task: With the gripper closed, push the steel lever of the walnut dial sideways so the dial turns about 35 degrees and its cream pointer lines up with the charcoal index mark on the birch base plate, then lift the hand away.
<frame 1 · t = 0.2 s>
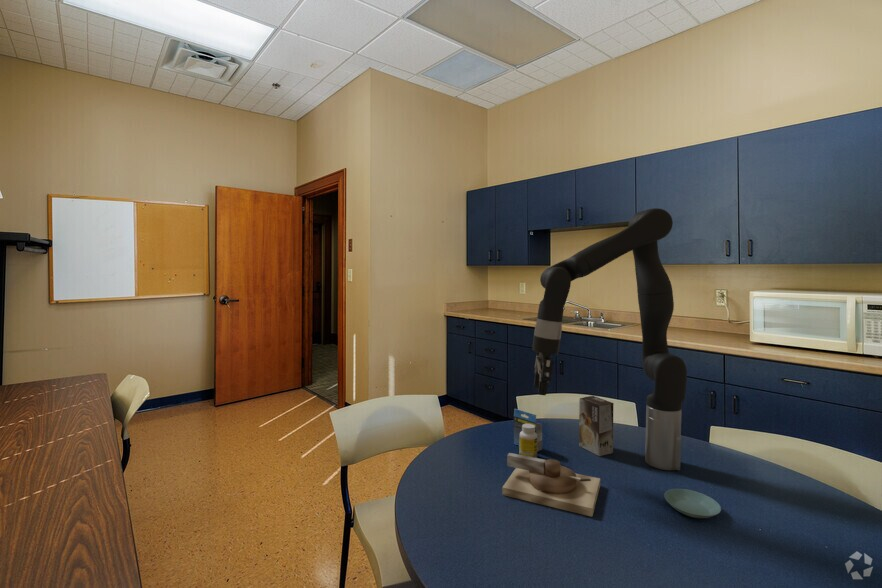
hand: (539, 390, 124), 23 cm above the table, tool pointing down, fingers open, 8 cm apart
saucer: (691, 511, 103), on the table
base plate: (552, 490, 112), on the table
label tape box: (527, 447, 139), on the table
coffee box: (595, 450, 137), on the table
supplement bottle: (528, 457, 132), on the table
dial: (542, 470, 113), point 5 cm above the table, hinge at 0.0°
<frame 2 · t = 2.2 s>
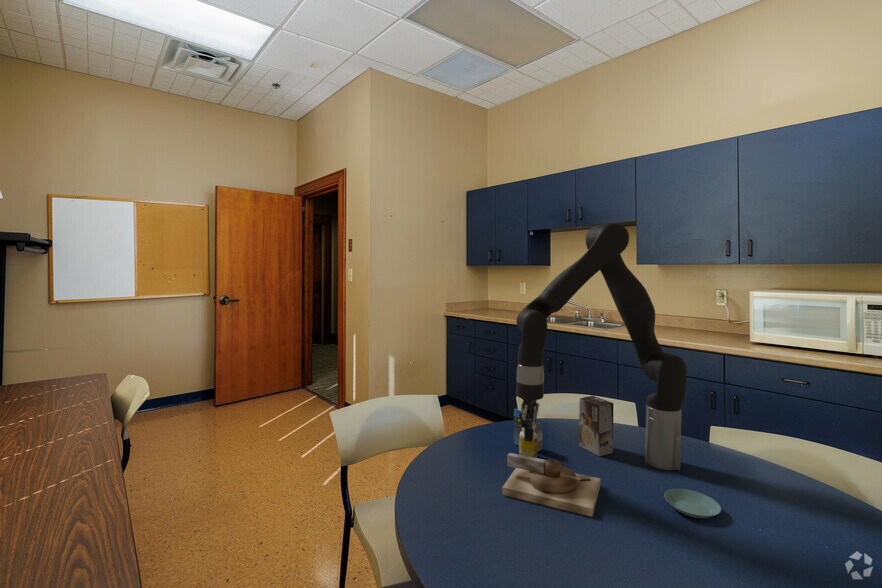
hand: (528, 440, 121), 9 cm above the table, tool pointing down, fingers closed
nothing on the table moved.
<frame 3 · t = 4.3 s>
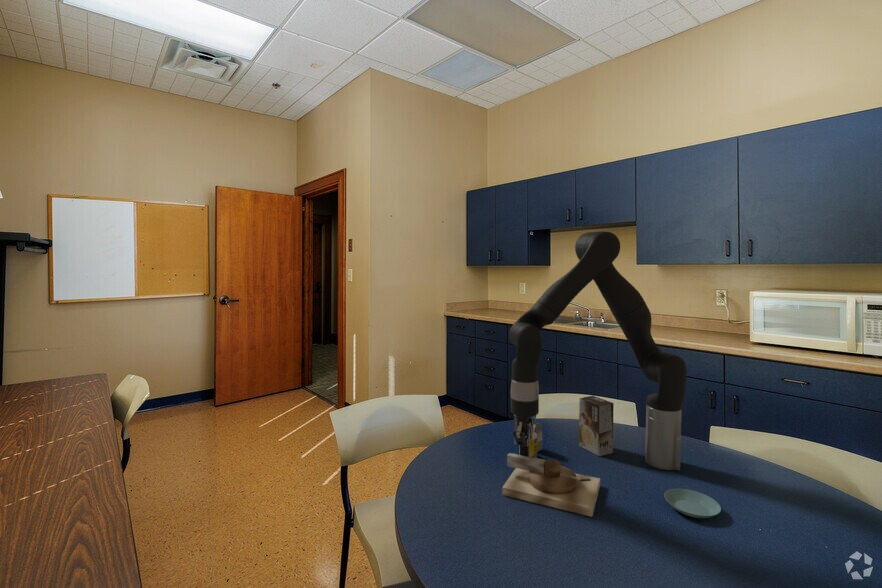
hand: (524, 457, 117), 6 cm above the table, tool pointing down, fingers closed
dial: (542, 470, 113), point 5 cm above the table, hinge at 0.6°, touching gripper
everything else where it was.
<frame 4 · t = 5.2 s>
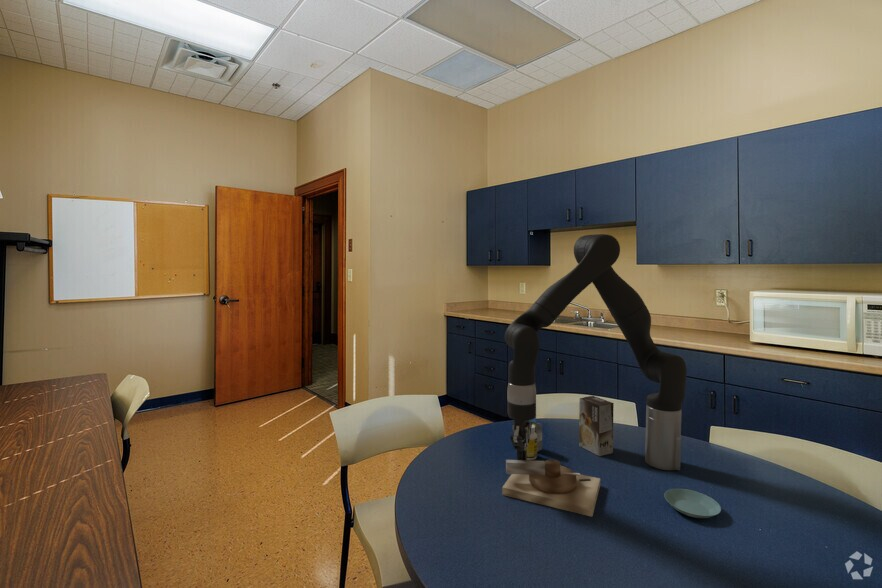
hand: (521, 461, 115), 6 cm above the table, tool pointing down, fingers closed
dial: (542, 471, 112), point 5 cm above the table, hinge at 22.0°, touching gripper
everything else where it was.
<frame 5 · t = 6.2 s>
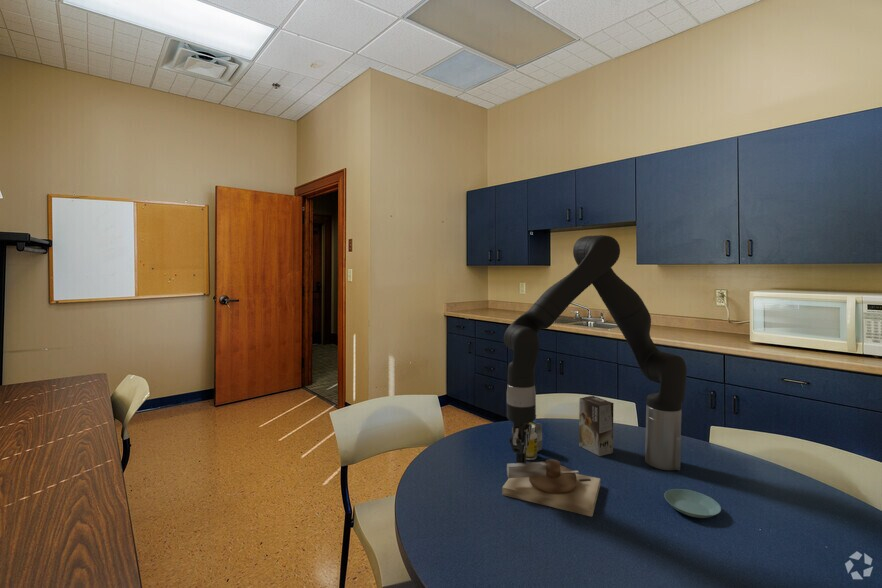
hand: (521, 465, 113), 6 cm above the table, tool pointing down, fingers closed
dial: (543, 472, 111), point 5 cm above the table, hinge at 33.2°, touching gripper
everything else where it was.
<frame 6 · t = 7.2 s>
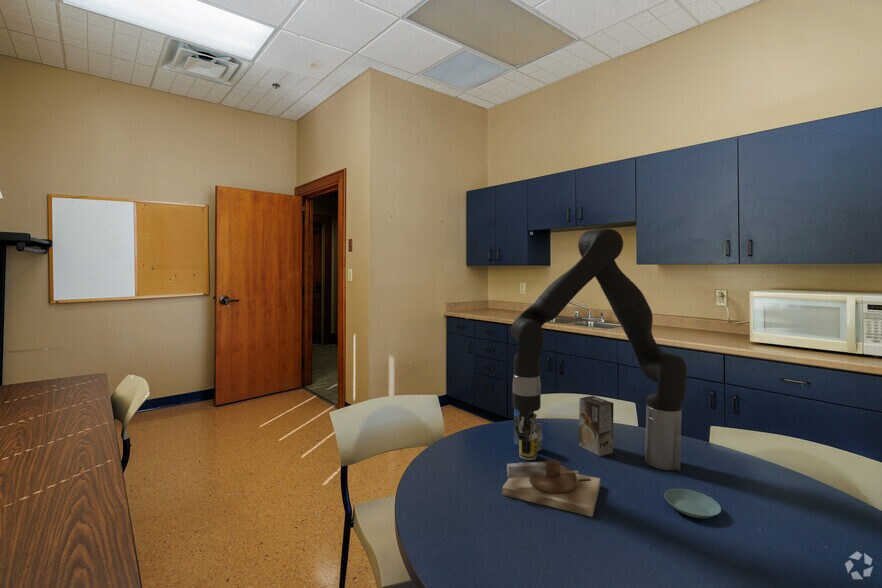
hand: (526, 452, 118), 7 cm above the table, tool pointing down, fingers closed
dial: (543, 472, 111), point 5 cm above the table, hinge at 33.4°
everything else where it was.
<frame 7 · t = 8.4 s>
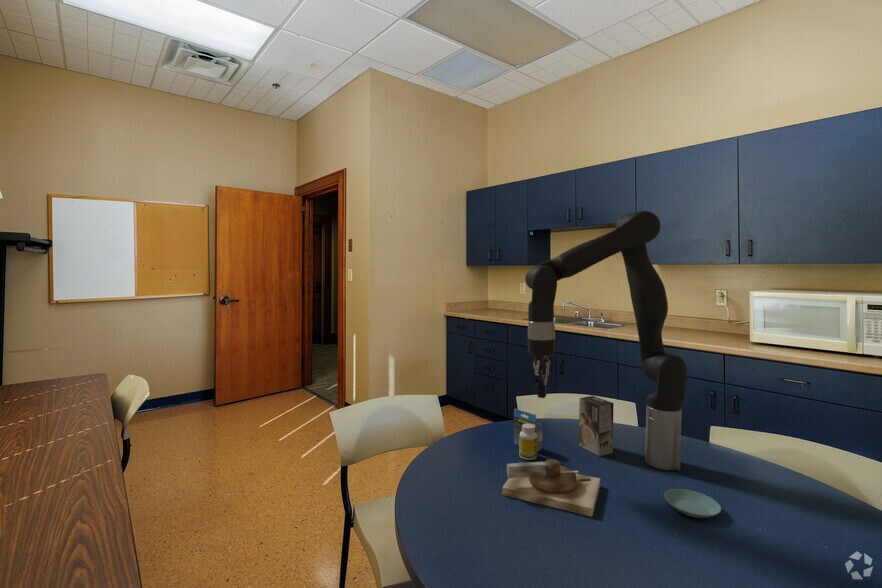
hand: (541, 397, 121), 22 cm above the table, tool pointing down, fingers closed
nothing on the table moved.
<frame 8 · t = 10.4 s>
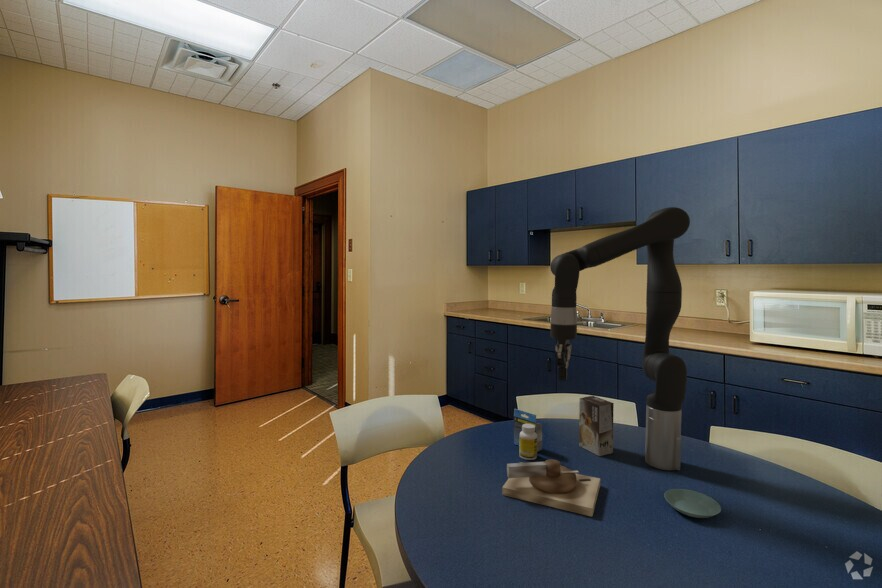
hand: (562, 379, 127), 25 cm above the table, tool pointing down, fingers closed
nothing on the table moved.
at the end: dial at +33° (first picture: +0°); supplement bottle moved 0.2 cm from its start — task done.
